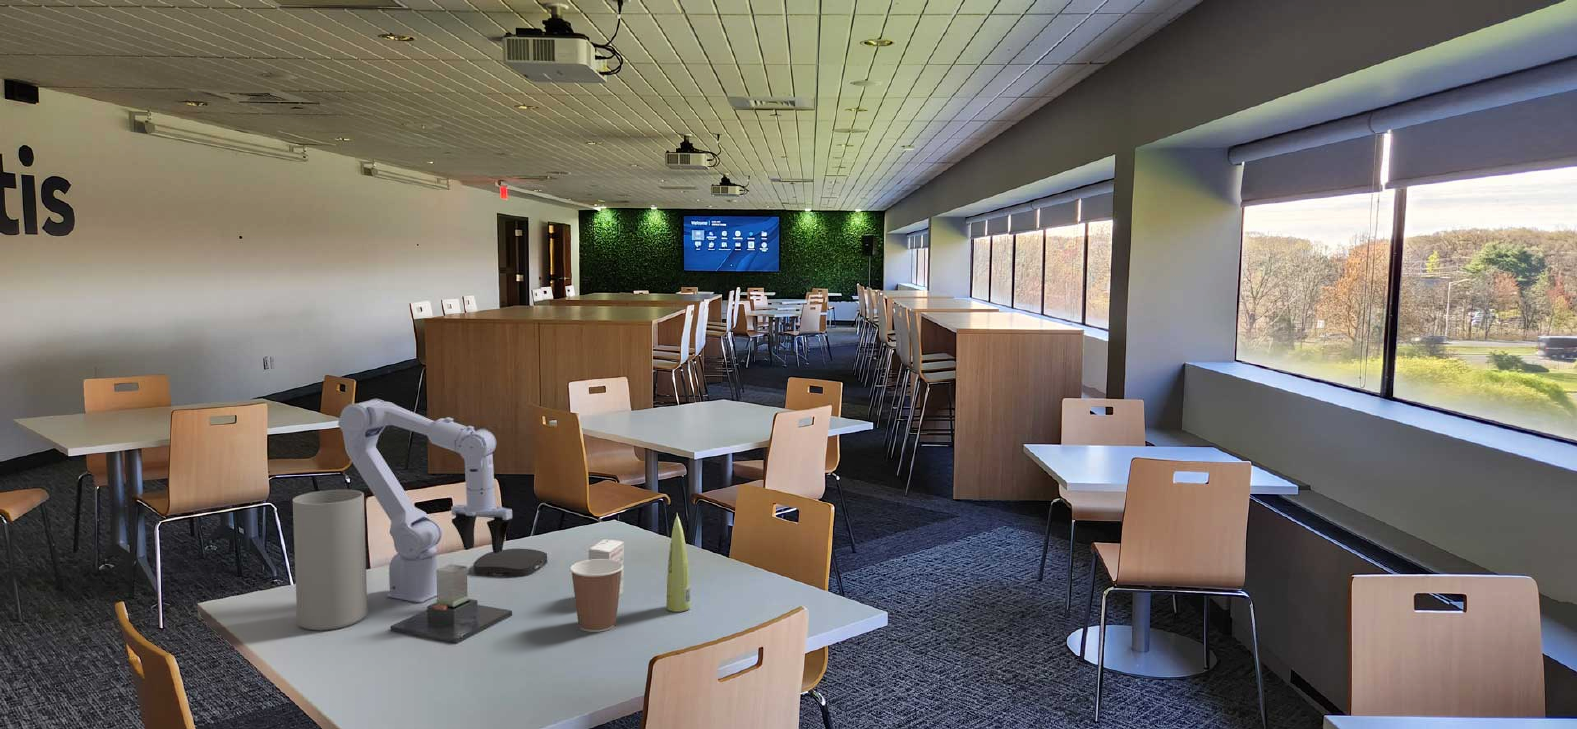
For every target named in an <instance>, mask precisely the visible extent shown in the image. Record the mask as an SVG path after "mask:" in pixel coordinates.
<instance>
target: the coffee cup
mask: <svg viewBox="0 0 1577 729" xmlns="http://www.w3.org/2000/svg"><path fill="white" fill-rule="evenodd" d="M622 569H623V570H624V563H623V564H622V563H621V562H619V561H616V560H610V559H592V560H589V559H586V560H582V561H577V562H576V563H573V564H572V565H571V566H570V567H569V570H570V572H571V580H572V585H573V594H574V601H575V608H576V616H577V622H578V625H579V629H581V631H584V632H588V633H601V632H605V631H609V630H611V629H612V628H614V627H615V625H616V620H617V617H618V616H617V615H618V608H619V600H620V599H619V598H620V596H619V591H620V582H621V573H622Z"/></svg>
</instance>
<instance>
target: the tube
mask: <svg viewBox="0 0 1577 729" xmlns="http://www.w3.org/2000/svg"><path fill="white" fill-rule="evenodd" d="M668 553H669V554H668V562H667V564H668V565H667V577H666V578H667V579H666V580H667V581H666V610H668V611H670V612H673V613H679V612H685V611H687V610H689V609H690V608H691V591H690V590H691V587H690V574H689V573H690V572H689V570H690V569H689V560H688V552H687V546H686V540H685V534H684V530H683V526H682V523H681V520H680V517H679V516H678V512H676V516H675V519H674V522H673V527H672V532H671V538H670V546H669V552H668Z"/></svg>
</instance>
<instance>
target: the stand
mask: <svg viewBox="0 0 1577 729" xmlns="http://www.w3.org/2000/svg"><path fill="white" fill-rule="evenodd" d="M511 616H513V610H510V609H505V608H500V607H499V608H498V607H494V606H493V607H492V606H487V605H482V604H478V600H477V599H471V598H468V601H466V602H464V603H462V604H460V605H458V606H455V607H448V606H446V605H441V604H437V603H436V602H434V603H432V604H430V605H427V607H426V610H423V611H422V612H419V613H417V614H414V615H413V616H410V617H409V618H408V617H407V618H406V619H402V620H401V621H398V622H396V623H394V624H392V625H390V632H393V633H397V634H403V635H410V636H413V637H419V638H425V639H430V640H435V641H440V642H445V643H451V644H459V643H461V642H463V641H464V640H467V639H469V638H470V637H473V636H475V635H477V634H478V633H481V632H482V631H484V630H487V629H489V628H490V627H492V626H494V625H497V624H499V623H501V622H502V621H504V620H506V619H507V618H510V617H511Z"/></svg>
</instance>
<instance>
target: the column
mask: <svg viewBox="0 0 1577 729" xmlns="http://www.w3.org/2000/svg"><path fill="white" fill-rule="evenodd" d="M436 574H437V596H436V600H435V601H436V602H435V603H437V604H441V605H446V606H448V607H455V606H458V605H460V604H462V603H464V602H466V601H468V599H469V595H468V566H466V565H458V564H453V563H451V564H448V565H446V566H443V567H440V568H437V570H436Z"/></svg>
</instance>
